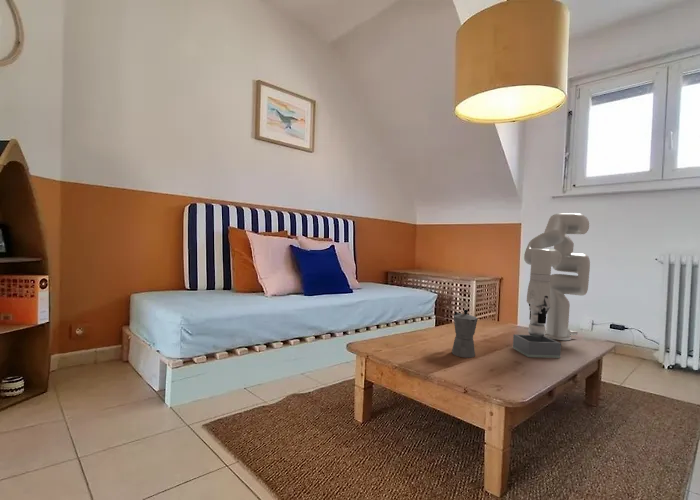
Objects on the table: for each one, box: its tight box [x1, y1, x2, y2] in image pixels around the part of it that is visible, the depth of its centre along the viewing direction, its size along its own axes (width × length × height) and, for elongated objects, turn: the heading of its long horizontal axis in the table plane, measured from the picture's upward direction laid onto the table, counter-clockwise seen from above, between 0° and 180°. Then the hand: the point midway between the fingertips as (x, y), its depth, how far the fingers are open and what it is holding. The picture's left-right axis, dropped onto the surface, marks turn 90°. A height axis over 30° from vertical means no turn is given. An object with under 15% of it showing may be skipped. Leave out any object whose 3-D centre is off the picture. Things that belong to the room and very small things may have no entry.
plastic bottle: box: [527, 298, 546, 337], centre depth 156 cm, size 6×7×20 cm
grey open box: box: [512, 333, 562, 359], centre depth 156 cm, size 13×12×6 cm
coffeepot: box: [451, 308, 478, 359], centre depth 150 cm, size 15×9×18 cm, turn 12°
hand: (537, 321), depth 156 cm, fingers closed on plastic bottle, 5 cm apart
